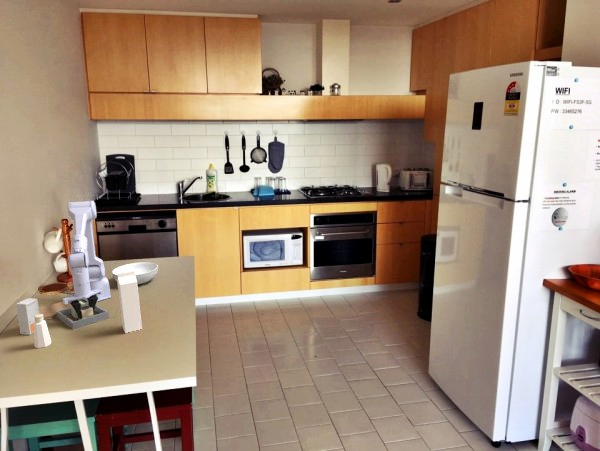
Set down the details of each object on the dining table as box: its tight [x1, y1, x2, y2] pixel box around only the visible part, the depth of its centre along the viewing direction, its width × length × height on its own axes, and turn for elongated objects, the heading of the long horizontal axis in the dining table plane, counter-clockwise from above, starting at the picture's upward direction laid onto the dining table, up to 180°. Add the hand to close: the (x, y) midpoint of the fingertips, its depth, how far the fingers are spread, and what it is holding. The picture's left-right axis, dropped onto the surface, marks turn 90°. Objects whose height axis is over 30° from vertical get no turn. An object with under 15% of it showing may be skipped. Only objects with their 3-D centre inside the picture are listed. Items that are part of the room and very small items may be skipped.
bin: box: [56, 301, 110, 330], centre depth 187 cm, size 14×17×2 cm
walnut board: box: [39, 301, 71, 321], centre depth 193 cm, size 14×12×1 cm
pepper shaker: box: [33, 314, 52, 349], centre depth 164 cm, size 5×5×11 cm
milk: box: [116, 271, 143, 334], centre depth 173 cm, size 6×6×22 cm
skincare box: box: [15, 297, 40, 336], centre depth 175 cm, size 6×4×12 cm
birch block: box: [78, 305, 95, 320], centre depth 184 cm, size 4×4×5 cm
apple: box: [64, 277, 75, 294], centre depth 216 cm, size 8×8×6 cm
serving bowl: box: [111, 261, 159, 286], centre depth 227 cm, size 21×21×7 cm
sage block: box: [69, 300, 86, 319], centre depth 189 cm, size 4×4×5 cm
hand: (85, 316), depth 184 cm, fingers open, 4 cm apart
